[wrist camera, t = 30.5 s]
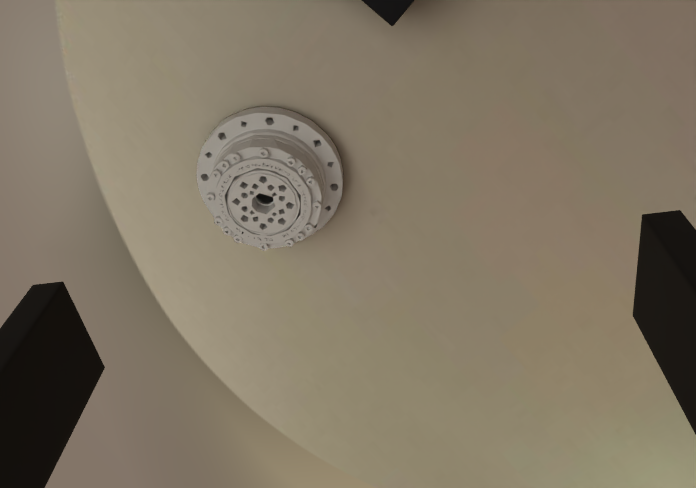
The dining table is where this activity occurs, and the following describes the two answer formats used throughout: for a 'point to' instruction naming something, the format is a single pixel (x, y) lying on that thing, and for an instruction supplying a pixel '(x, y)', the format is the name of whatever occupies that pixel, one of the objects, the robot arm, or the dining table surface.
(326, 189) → the mechanical component
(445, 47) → the dining table surface
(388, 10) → the socket block
